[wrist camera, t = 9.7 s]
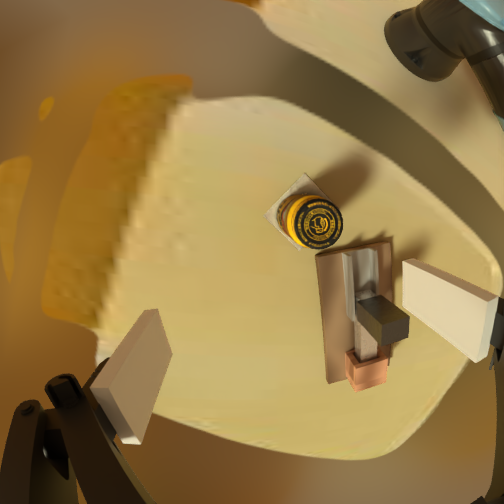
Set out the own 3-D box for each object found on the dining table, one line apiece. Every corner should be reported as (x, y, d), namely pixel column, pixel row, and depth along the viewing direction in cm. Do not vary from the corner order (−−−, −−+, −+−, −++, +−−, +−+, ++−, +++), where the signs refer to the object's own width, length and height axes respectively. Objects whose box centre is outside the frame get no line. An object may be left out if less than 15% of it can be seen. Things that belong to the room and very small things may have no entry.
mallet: (372, 288, 40) (409, 316, 29) (372, 362, 43) (400, 399, 32) (349, 294, 40) (381, 325, 29) (351, 369, 43) (376, 408, 32)
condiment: (262, 215, 40) (273, 225, 28) (304, 172, 39) (331, 165, 27) (299, 250, 41) (322, 273, 29) (338, 209, 40) (376, 216, 28)
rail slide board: (385, 241, 41) (407, 249, 35) (385, 361, 46) (401, 380, 39) (314, 255, 41) (328, 266, 34) (326, 379, 46) (336, 401, 39)
